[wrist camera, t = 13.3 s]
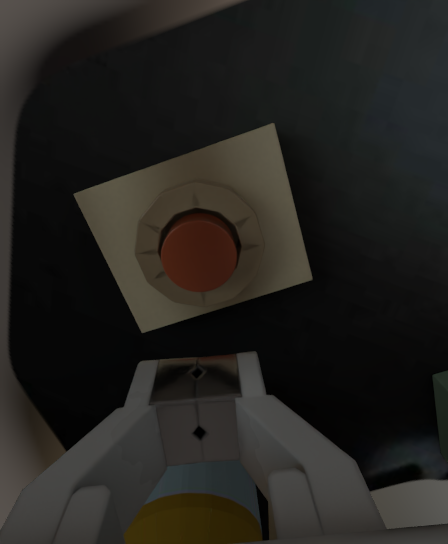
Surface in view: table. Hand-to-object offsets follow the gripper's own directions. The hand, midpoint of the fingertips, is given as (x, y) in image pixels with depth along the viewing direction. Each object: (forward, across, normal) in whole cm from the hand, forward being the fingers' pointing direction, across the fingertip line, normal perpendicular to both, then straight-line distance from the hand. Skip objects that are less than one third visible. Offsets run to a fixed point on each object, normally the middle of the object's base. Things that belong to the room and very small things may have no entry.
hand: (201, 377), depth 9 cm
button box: (+13, 0, -1) cm, 13 cm away
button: (+9, 0, -1) cm, 9 cm away
